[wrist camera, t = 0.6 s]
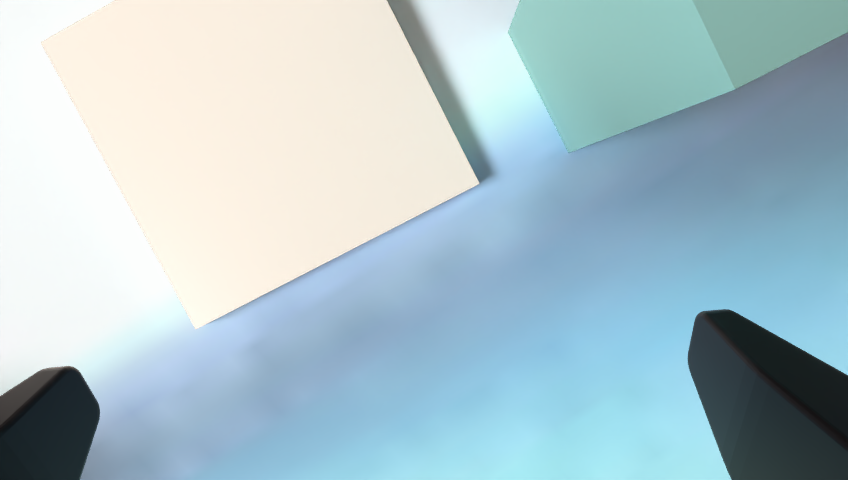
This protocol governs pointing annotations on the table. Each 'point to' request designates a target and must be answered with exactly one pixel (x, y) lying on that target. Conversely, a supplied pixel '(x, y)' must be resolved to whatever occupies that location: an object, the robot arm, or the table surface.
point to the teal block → (657, 54)
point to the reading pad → (258, 133)
